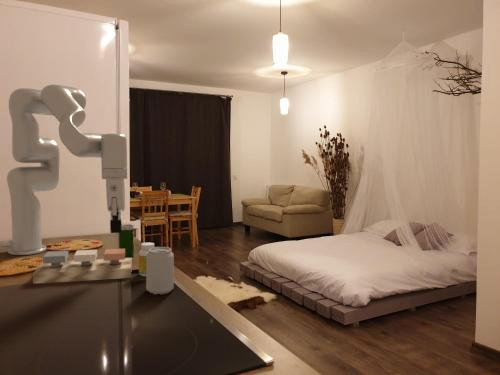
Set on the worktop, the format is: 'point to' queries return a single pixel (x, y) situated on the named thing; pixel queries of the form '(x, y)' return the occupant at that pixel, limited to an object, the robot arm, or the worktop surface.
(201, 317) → the worktop surface
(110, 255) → the terracotta tile
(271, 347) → the worktop surface
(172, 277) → the can
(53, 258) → the slate tile
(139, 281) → the worktop surface
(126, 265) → the button board
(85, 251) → the cream tile
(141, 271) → the supplement bottle
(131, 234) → the beer can
